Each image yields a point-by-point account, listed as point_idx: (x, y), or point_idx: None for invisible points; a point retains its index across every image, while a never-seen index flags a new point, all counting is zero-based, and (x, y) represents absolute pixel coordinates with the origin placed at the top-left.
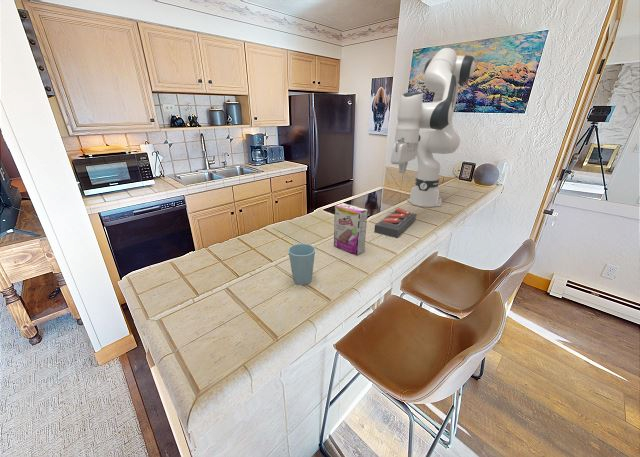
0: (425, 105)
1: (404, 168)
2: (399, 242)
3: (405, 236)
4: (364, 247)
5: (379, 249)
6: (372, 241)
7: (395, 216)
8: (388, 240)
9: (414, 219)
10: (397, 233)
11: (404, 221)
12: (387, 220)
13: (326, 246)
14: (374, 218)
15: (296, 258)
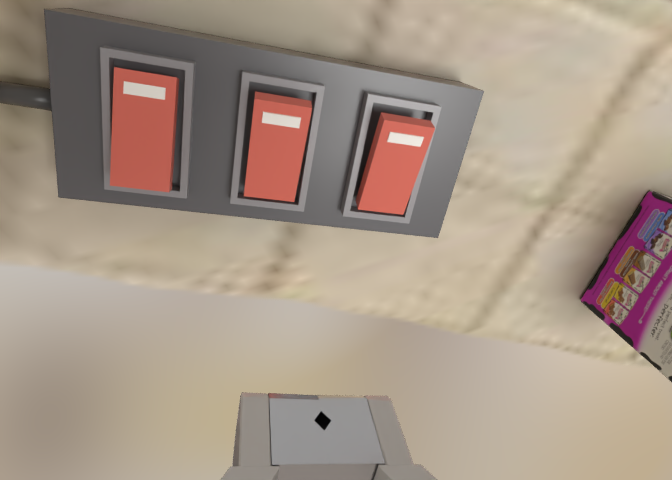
0: None
1: (312, 476)
2: (515, 55)
3: (417, 35)
4: (669, 198)
5: (618, 135)
6: (536, 190)
7: (302, 158)
8: (504, 120)
9: (99, 15)
10: (474, 87)
11: (299, 79)
12: (412, 187)
13: None
14: (200, 281)
15: None
